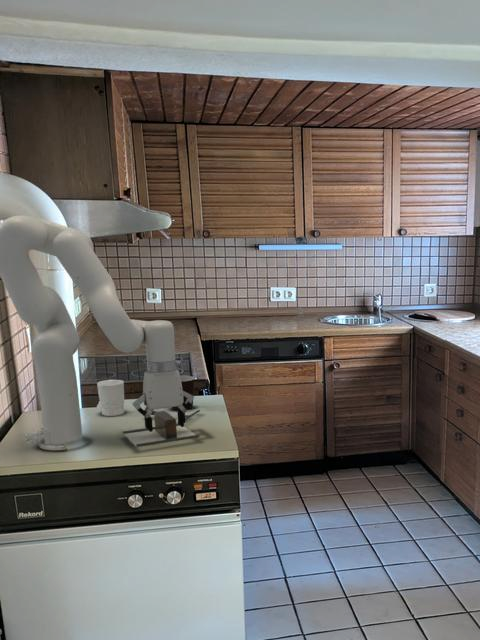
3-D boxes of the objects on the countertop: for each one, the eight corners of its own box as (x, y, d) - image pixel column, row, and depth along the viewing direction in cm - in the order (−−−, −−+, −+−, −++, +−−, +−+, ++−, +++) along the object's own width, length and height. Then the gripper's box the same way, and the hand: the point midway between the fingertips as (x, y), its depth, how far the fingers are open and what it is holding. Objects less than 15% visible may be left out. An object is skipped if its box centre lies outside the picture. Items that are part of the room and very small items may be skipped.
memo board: (137, 452, 184) (136, 444, 184) (123, 438, 196) (122, 431, 195) (199, 442, 193) (199, 435, 193) (182, 429, 205) (182, 422, 204)
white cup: (113, 408, 226) (110, 378, 223) (131, 412, 222) (129, 381, 220) (94, 414, 219) (91, 383, 216) (113, 418, 215) (110, 386, 213)
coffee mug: (201, 407, 228) (200, 377, 225) (182, 413, 221) (180, 382, 218) (176, 402, 234) (174, 373, 231) (156, 408, 227) (154, 378, 224)
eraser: (166, 439, 190) (164, 420, 188) (155, 430, 198) (153, 412, 197) (177, 438, 192) (175, 419, 190) (165, 429, 200) (164, 410, 198)
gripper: (188, 361, 197) (191, 420, 202) (125, 367, 188) (130, 429, 193) (197, 365, 191) (200, 427, 196) (132, 372, 182) (137, 436, 187)
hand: (165, 427), depth 194 cm, fingers open, 8 cm apart
